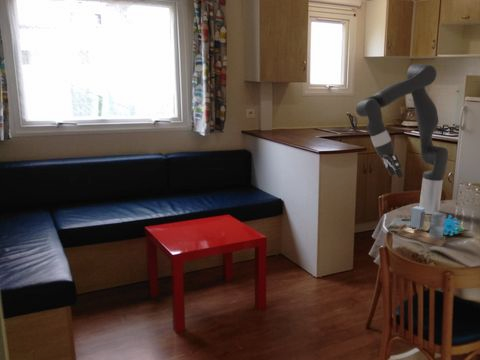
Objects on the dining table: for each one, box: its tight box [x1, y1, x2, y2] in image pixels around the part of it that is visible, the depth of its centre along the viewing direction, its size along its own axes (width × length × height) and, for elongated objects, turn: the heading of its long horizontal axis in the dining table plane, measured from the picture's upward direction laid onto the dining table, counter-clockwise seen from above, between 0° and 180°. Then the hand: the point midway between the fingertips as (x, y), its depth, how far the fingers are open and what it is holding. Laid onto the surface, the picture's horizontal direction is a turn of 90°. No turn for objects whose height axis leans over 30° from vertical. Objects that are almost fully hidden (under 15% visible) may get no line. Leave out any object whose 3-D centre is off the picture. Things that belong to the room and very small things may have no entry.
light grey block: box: [409, 205, 426, 229], centre depth 195 cm, size 4×4×10 cm
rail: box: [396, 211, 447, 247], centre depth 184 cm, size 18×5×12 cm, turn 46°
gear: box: [443, 214, 464, 237], centre depth 192 cm, size 11×6×10 cm
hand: (396, 176), depth 193 cm, fingers open, 8 cm apart
